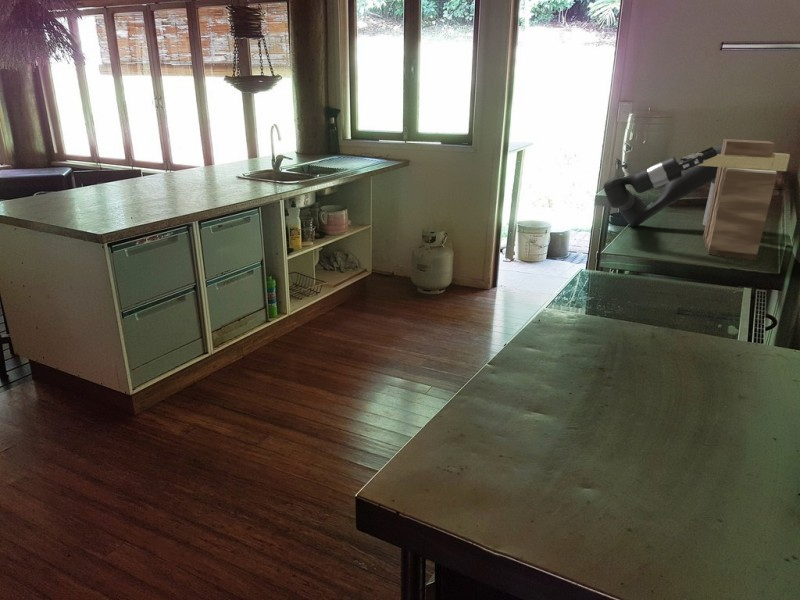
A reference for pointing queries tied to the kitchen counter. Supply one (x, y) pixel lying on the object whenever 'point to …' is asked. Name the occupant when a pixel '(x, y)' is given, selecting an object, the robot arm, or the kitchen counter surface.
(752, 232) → the stepped wooden block
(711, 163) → the tan wooden bar
